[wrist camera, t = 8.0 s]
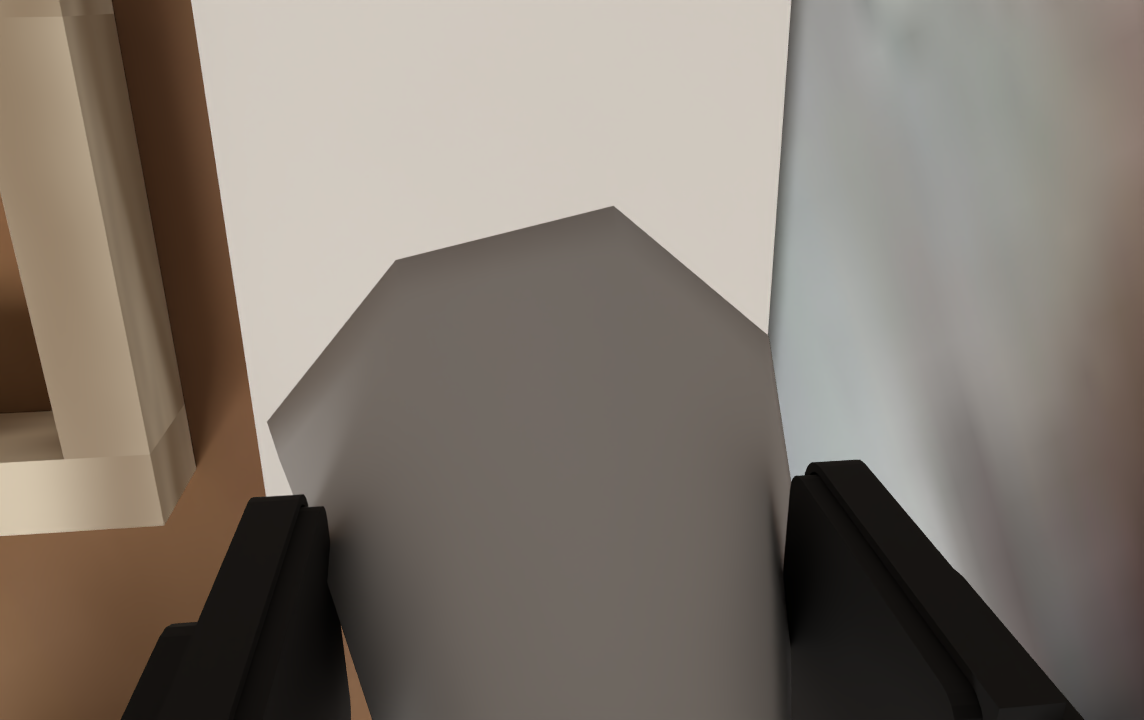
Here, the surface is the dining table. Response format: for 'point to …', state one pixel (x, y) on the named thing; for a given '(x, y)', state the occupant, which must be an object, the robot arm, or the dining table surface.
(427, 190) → the plate
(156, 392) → the holder
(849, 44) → the dining table surface
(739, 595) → the flask
